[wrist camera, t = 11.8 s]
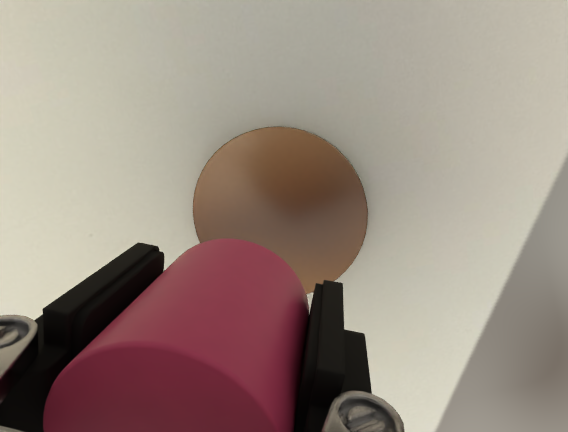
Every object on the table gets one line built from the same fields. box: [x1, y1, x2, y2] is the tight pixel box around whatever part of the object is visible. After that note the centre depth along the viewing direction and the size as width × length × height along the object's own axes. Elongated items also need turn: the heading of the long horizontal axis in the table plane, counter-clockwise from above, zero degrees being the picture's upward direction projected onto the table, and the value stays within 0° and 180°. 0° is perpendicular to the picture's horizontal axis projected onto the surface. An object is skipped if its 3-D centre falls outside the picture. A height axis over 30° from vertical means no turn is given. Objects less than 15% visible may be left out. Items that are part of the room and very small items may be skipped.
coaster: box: [193, 127, 368, 294], centre depth 20 cm, size 9×9×1 cm
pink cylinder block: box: [43, 239, 309, 432], centre depth 9 cm, size 4×4×5 cm
